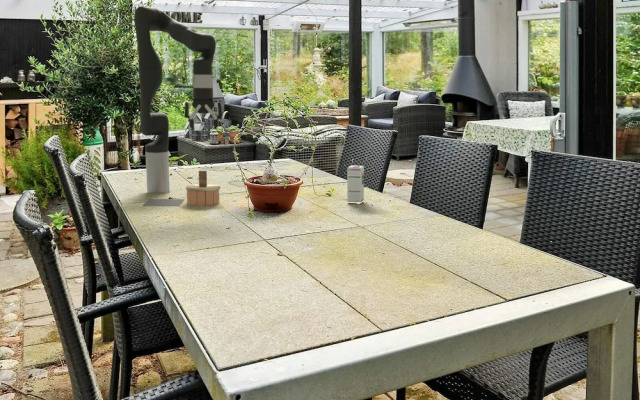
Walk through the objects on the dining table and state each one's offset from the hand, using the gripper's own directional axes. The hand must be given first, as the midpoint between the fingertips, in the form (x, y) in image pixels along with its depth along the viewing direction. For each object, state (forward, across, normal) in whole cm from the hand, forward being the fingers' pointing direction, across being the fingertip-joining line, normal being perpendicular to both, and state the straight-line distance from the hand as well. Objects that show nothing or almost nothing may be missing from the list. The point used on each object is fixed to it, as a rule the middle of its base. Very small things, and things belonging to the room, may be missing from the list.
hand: (204, 129), depth 250 cm
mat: (+28, +15, +7) cm, 33 cm away
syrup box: (+28, -59, +5) cm, 66 cm away
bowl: (+28, 0, +7) cm, 29 cm away
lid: (+22, 0, +7) cm, 23 cm away
